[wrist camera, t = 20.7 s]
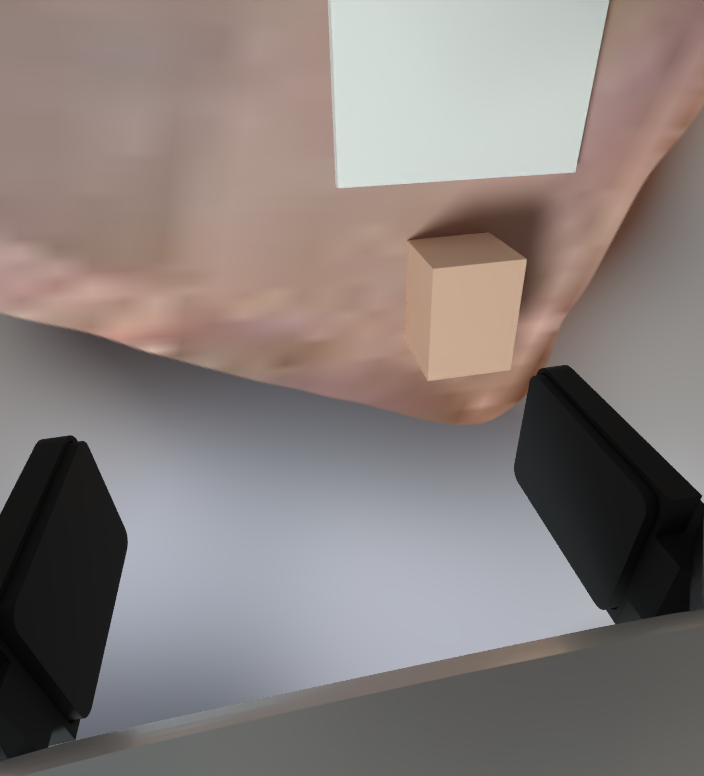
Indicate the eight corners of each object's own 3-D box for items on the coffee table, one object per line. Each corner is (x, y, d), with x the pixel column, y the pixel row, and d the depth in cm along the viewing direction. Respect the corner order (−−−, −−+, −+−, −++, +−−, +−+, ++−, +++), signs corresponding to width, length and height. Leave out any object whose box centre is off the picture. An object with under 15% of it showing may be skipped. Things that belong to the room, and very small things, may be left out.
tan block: (406, 239, 36) (433, 268, 31) (488, 231, 36) (526, 258, 31) (405, 341, 40) (427, 381, 35) (477, 332, 41) (510, 369, 36)
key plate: (317, -240, 23) (320, -251, 22) (642, -225, 25) (656, -235, 24) (335, 184, 33) (338, 188, 32) (567, 169, 35) (575, 172, 34)
